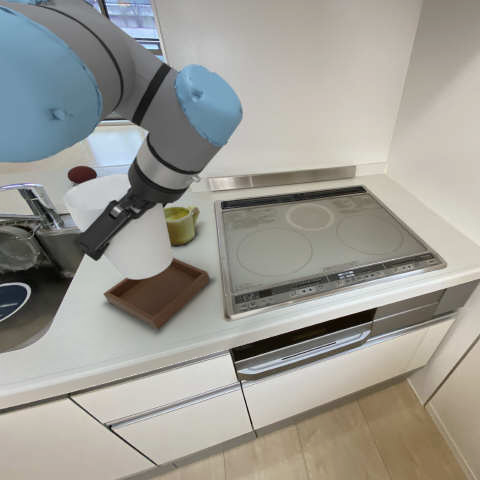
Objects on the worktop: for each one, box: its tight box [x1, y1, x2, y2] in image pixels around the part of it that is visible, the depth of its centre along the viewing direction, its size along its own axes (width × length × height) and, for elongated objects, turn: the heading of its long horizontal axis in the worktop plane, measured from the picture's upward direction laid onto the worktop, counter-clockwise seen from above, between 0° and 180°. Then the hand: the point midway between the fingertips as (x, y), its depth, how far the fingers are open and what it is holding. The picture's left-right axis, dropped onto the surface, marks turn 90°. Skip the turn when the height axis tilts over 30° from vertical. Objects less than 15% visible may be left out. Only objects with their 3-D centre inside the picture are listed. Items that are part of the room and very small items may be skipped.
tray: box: [103, 257, 211, 330], centre depth 58 cm, size 15×15×3 cm
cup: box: [62, 173, 174, 279], centre depth 48 cm, size 13×13×17 cm
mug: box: [163, 204, 201, 246], centre depth 73 cm, size 12×10×10 cm
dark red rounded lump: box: [67, 165, 98, 185], centre depth 94 cm, size 7×8×6 cm
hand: (123, 232), depth 49 cm, fingers closed on cup, 13 cm apart
